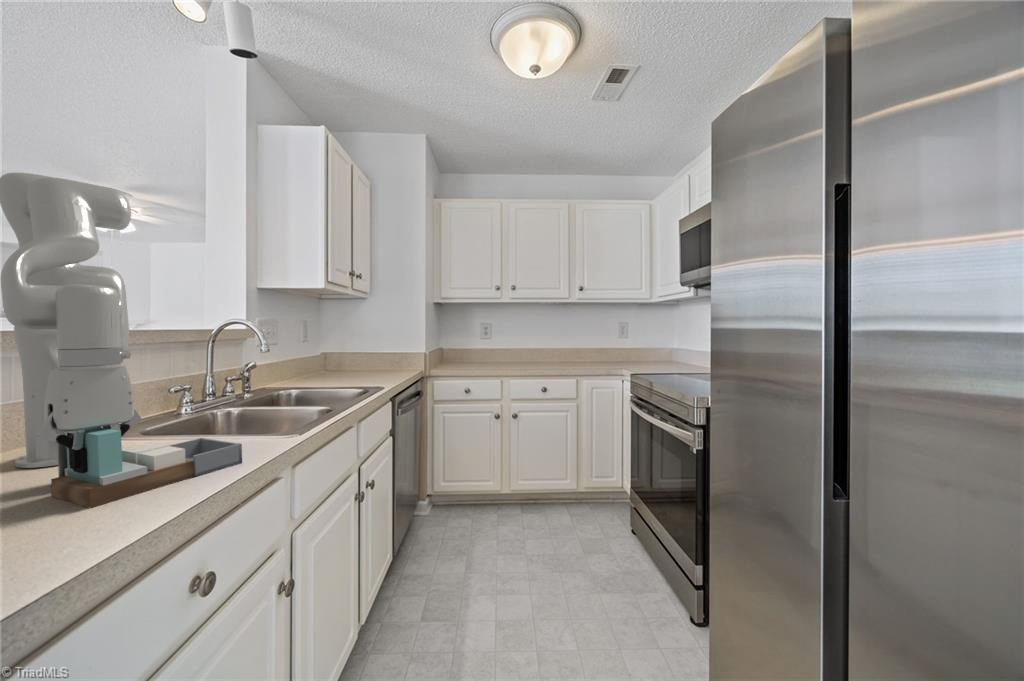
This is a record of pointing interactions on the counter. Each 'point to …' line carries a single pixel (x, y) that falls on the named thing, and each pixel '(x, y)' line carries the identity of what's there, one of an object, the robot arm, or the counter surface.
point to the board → (118, 485)
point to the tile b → (161, 457)
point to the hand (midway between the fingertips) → (94, 467)
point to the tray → (211, 454)
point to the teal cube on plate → (104, 458)
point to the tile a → (131, 453)
